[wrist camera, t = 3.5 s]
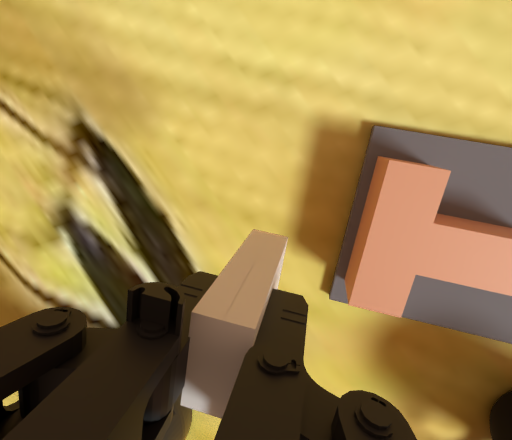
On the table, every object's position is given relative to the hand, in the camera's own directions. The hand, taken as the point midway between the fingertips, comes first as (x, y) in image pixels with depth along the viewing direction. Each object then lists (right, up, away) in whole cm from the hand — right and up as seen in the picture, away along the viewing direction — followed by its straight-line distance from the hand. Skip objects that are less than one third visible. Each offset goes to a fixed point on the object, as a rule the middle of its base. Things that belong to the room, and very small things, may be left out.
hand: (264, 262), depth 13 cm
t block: (+13, +1, +10) cm, 16 cm away
